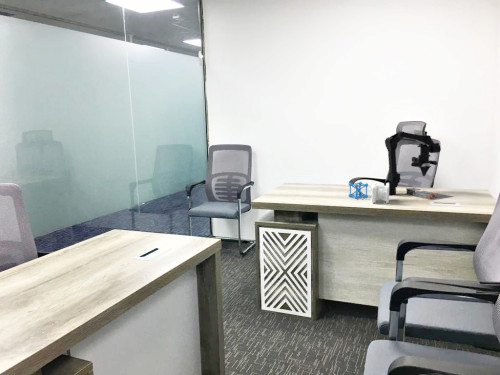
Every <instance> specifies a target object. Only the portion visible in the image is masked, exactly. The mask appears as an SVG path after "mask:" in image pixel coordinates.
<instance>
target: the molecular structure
mask: <svg viewBox="0 0 500 375" xmlns="http://www.w3.org/2000/svg"><path fill="white" fill-rule="evenodd" d="M348 186H349V194H348V198H351V197H353V198H354V199H355V200H358V199H359V198H366V199H367V198H369V194H368V187H369V183H362V182H361V181H359V182H358V183H357V182H356V183H355V182H354V183H352V182H348ZM352 188H354V189H355V191H354V192H352ZM364 188H365V193H363V192H362V191H361V190H362V189H364Z"/></svg>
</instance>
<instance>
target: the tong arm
mask: <svg viewBox="0 0 500 375" xmlns="http://www.w3.org/2000/svg"><path fill="white" fill-rule="evenodd" d="M415 192H419V193H424V194H430V195H432V198H437V194H434V193H435V192H432V193H428V192H429V191H427V192H421V190H418V191H415Z"/></svg>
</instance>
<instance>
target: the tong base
mask: <svg viewBox="0 0 500 375" xmlns="http://www.w3.org/2000/svg"><path fill="white" fill-rule="evenodd" d="M405 190H406V193H405V194H408V195H407V196H410V195H413V196H412V197H414V196H418V197H417V198H419V197H422V198H421V199H424V198H427V199H426V200H429V199H432V195H430V194H424V193H419V192H416V191H421V188H418V187H407V188H406V189H405Z"/></svg>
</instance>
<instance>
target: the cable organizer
mask: <svg viewBox="0 0 500 375" xmlns="http://www.w3.org/2000/svg"><path fill="white" fill-rule="evenodd" d="M370 188H371V203H372V204H375V203H376V201H385V203H386V204H389V203H390V196H389V183H386V186H385V185H377V183H376V182H372V184H371V187H370Z"/></svg>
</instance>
